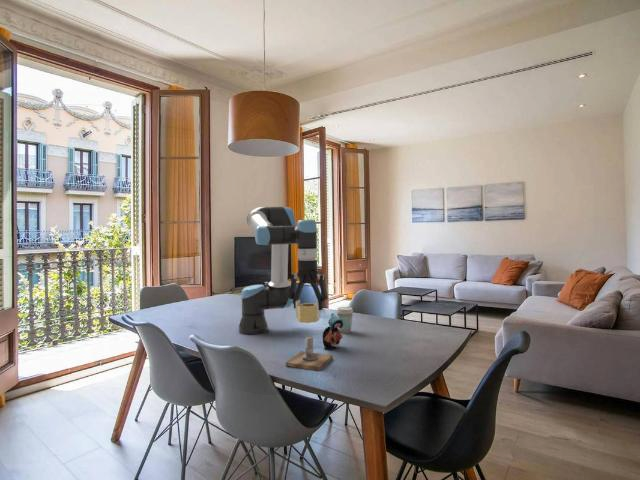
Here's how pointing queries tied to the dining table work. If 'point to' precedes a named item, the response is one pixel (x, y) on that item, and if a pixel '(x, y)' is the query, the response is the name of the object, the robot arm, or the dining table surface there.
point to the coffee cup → (345, 318)
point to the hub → (306, 313)
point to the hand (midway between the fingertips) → (308, 317)
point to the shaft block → (309, 358)
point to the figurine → (332, 333)
